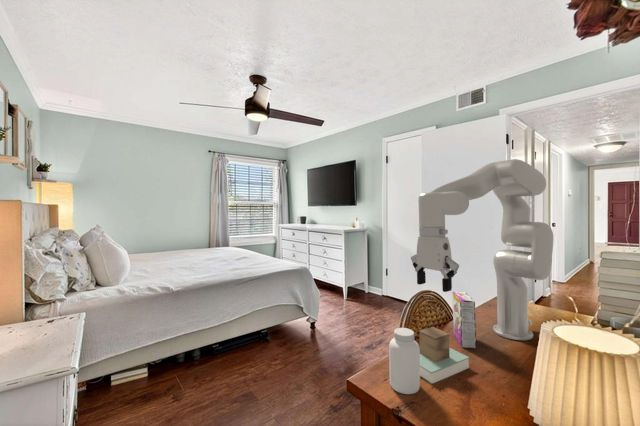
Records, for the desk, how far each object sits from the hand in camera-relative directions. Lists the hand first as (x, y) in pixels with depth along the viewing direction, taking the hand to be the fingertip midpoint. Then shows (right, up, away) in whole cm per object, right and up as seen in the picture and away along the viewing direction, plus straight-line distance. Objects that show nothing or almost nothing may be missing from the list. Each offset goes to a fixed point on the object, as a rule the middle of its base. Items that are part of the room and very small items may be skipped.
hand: (433, 287), depth 89 cm
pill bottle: (-12, -24, -11) cm, 29 cm away
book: (0, -24, -1) cm, 24 cm away
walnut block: (0, -20, -1) cm, 21 cm away
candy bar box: (+17, -23, +14) cm, 32 cm away
